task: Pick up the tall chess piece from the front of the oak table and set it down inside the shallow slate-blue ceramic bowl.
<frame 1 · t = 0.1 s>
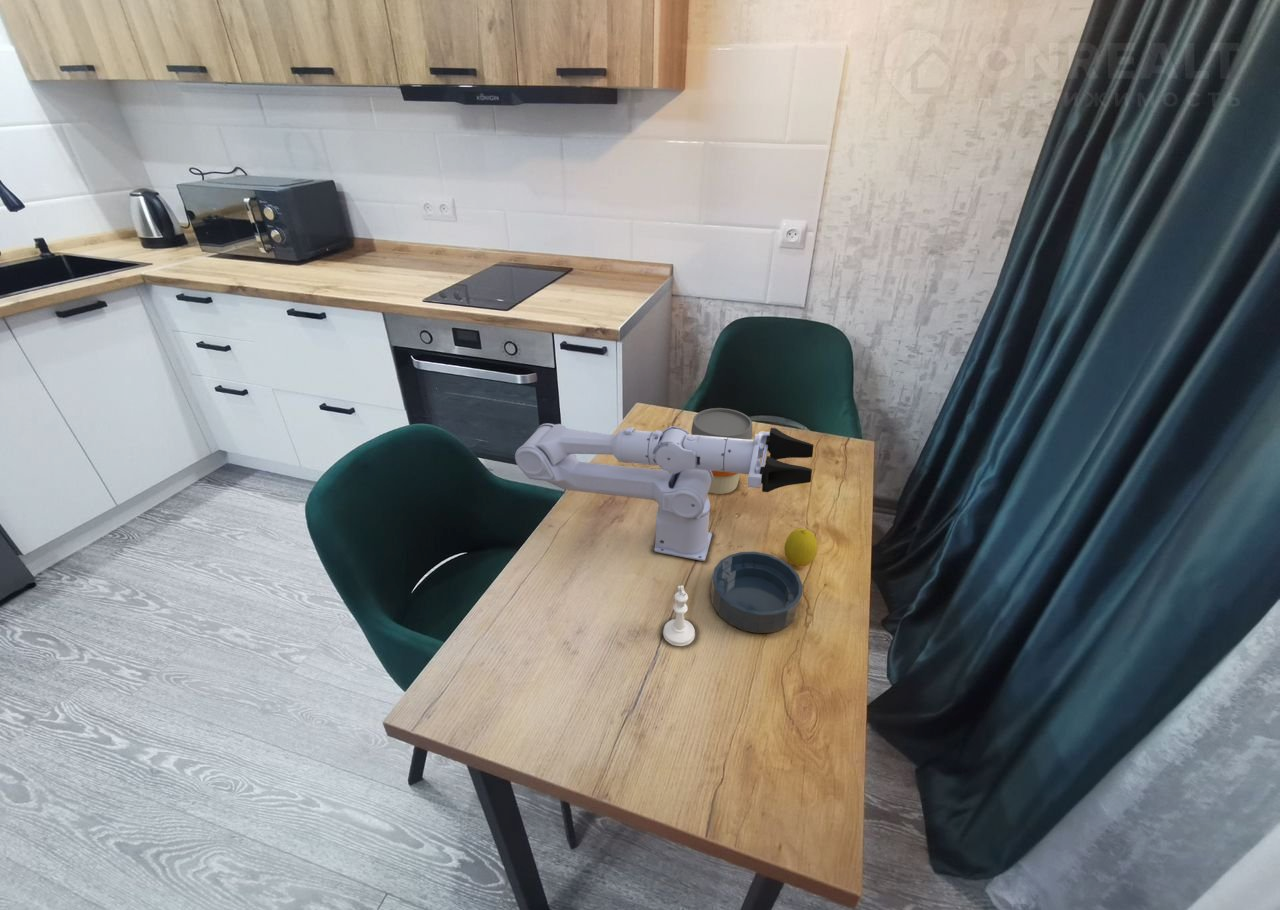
hand: (812, 462, 89), 22 cm above the table, tool horizontal, fingers open, 7 cm apart
lemon: (797, 565, 101), on the table
bowl: (754, 601, 93), on the table
chess piece: (678, 634, 87), on the table
reusable coffee cup: (716, 482, 123), on the table
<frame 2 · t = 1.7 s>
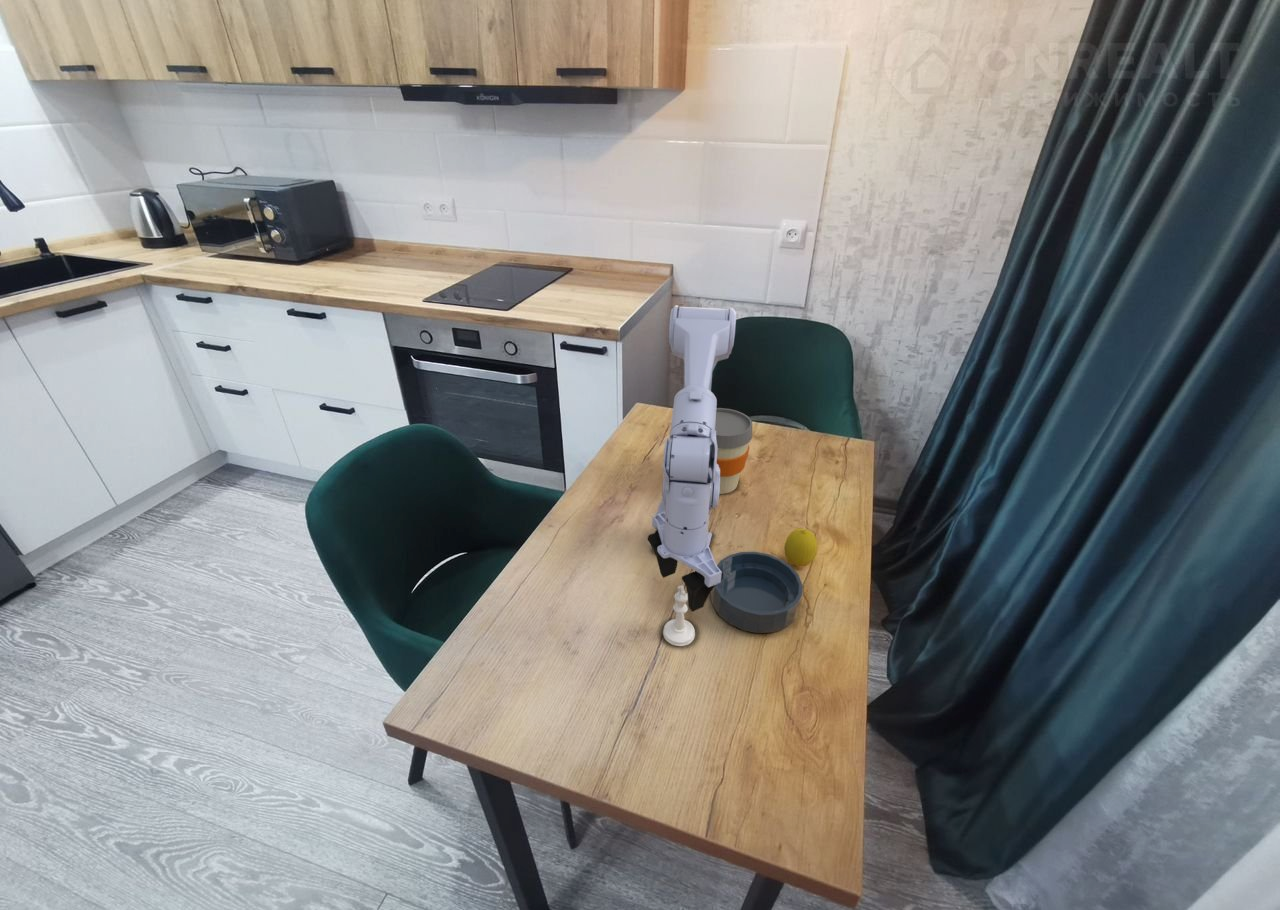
hand: (681, 590, 82), 9 cm above the table, tool pointing down, fingers open, 7 cm apart
nothing on the table moved.
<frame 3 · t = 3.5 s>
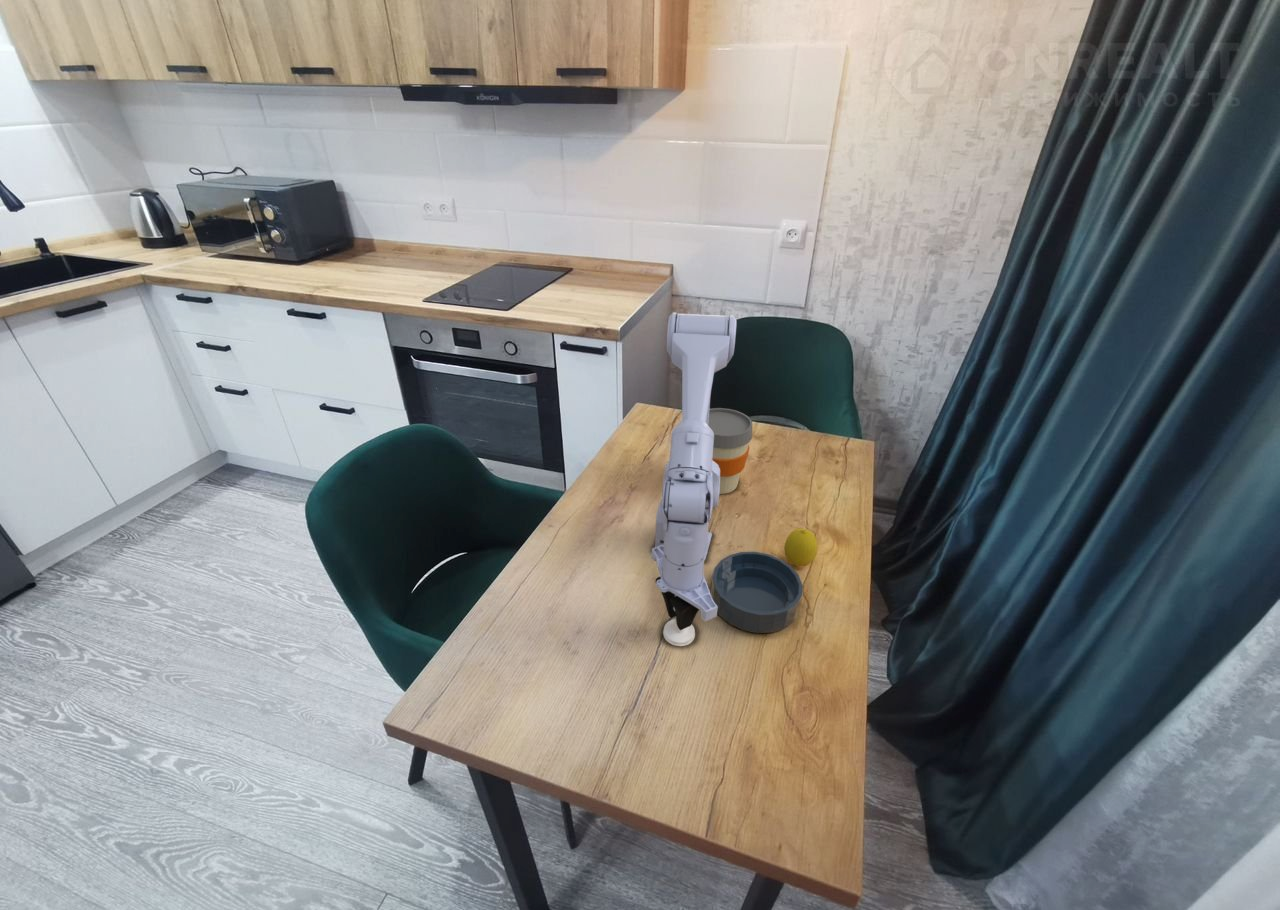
hand: (679, 620, 86), 3 cm above the table, tool pointing down, fingers closed on chess piece
chess piece: (679, 634, 87), on the table, touching gripper
everything else where it was.
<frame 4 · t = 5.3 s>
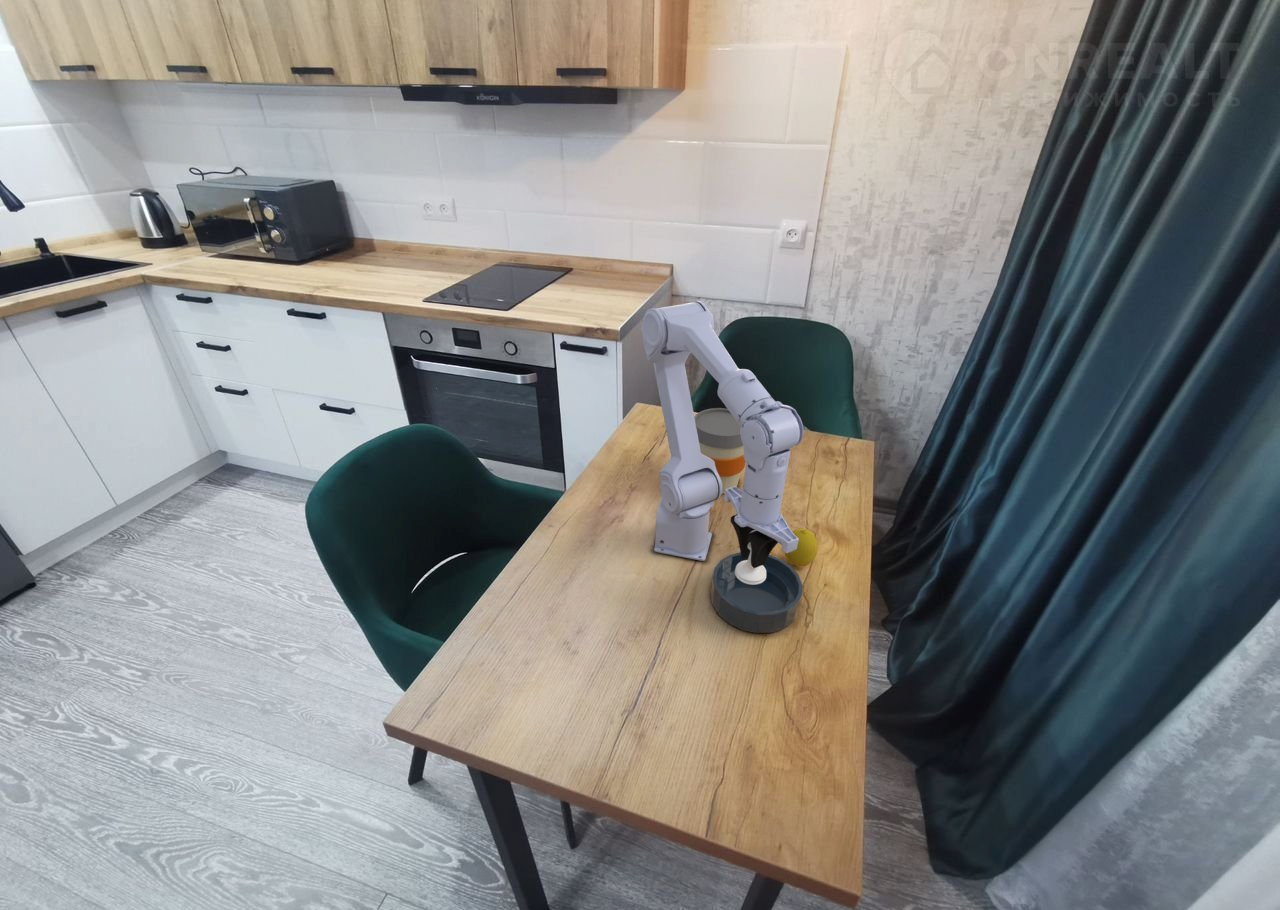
hand: (752, 559, 87), 10 cm above the table, tool pointing down, fingers closed on chess piece
chess piece: (750, 574, 89), point 7 cm above the table, touching gripper
everything else where it was.
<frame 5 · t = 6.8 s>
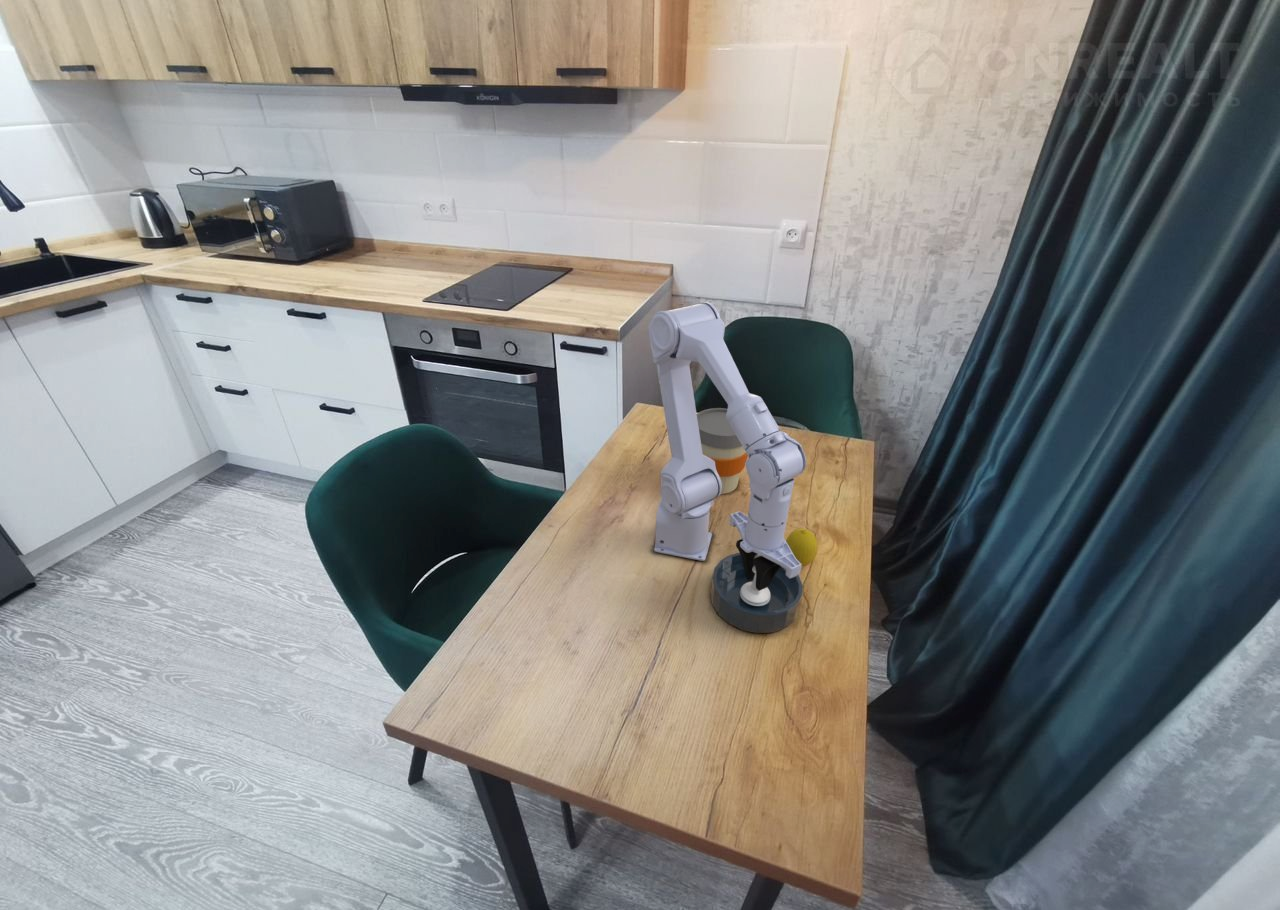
hand: (757, 582, 91), 4 cm above the table, tool pointing down, fingers closed on chess piece
chess piece: (754, 595, 92), point 1 cm above the table, touching gripper
everything else where it was.
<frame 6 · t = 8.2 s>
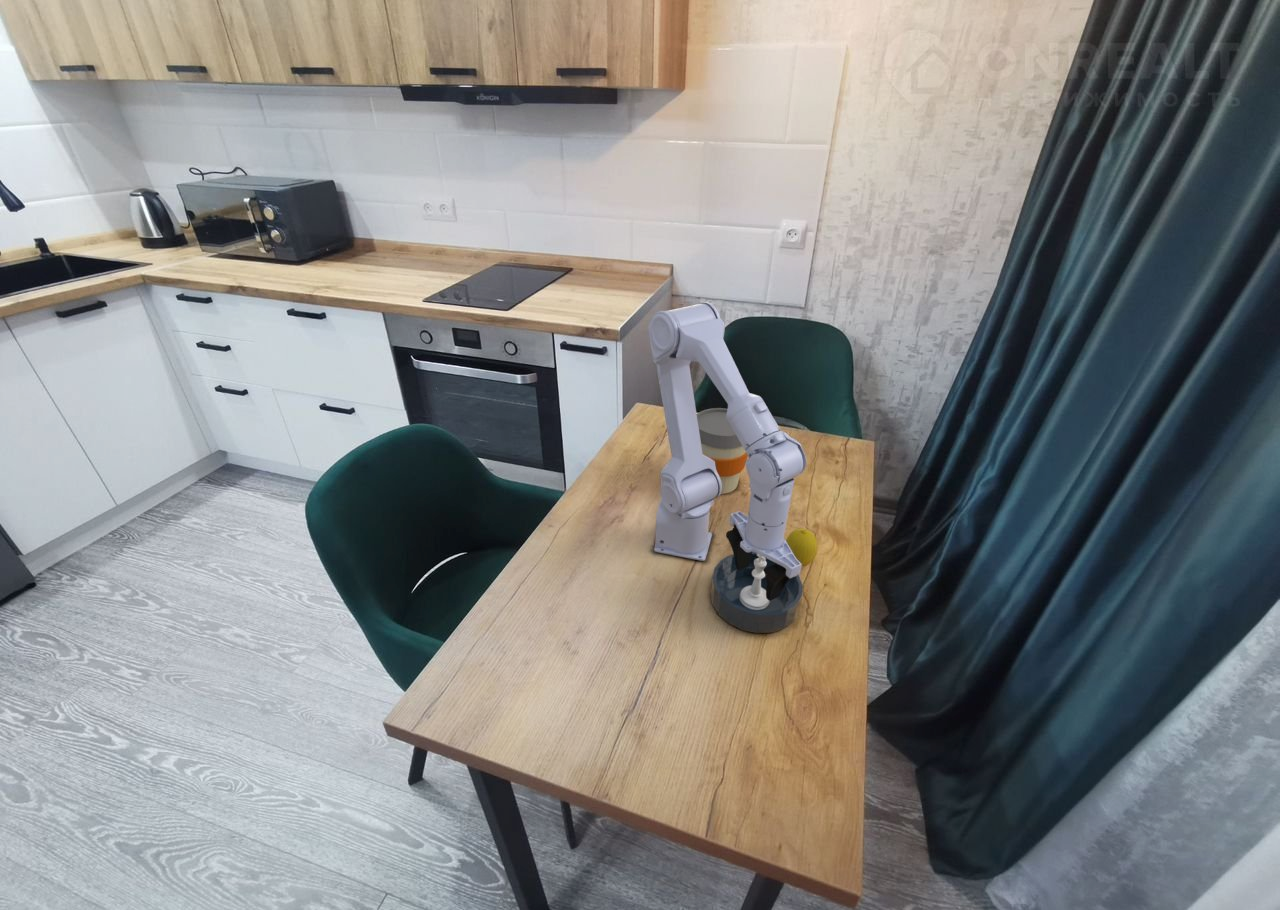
hand: (757, 581, 91), 4 cm above the table, tool pointing down, fingers open, 7 cm apart
chess piece: (754, 599, 93), resting on bowl
everything else where it was.
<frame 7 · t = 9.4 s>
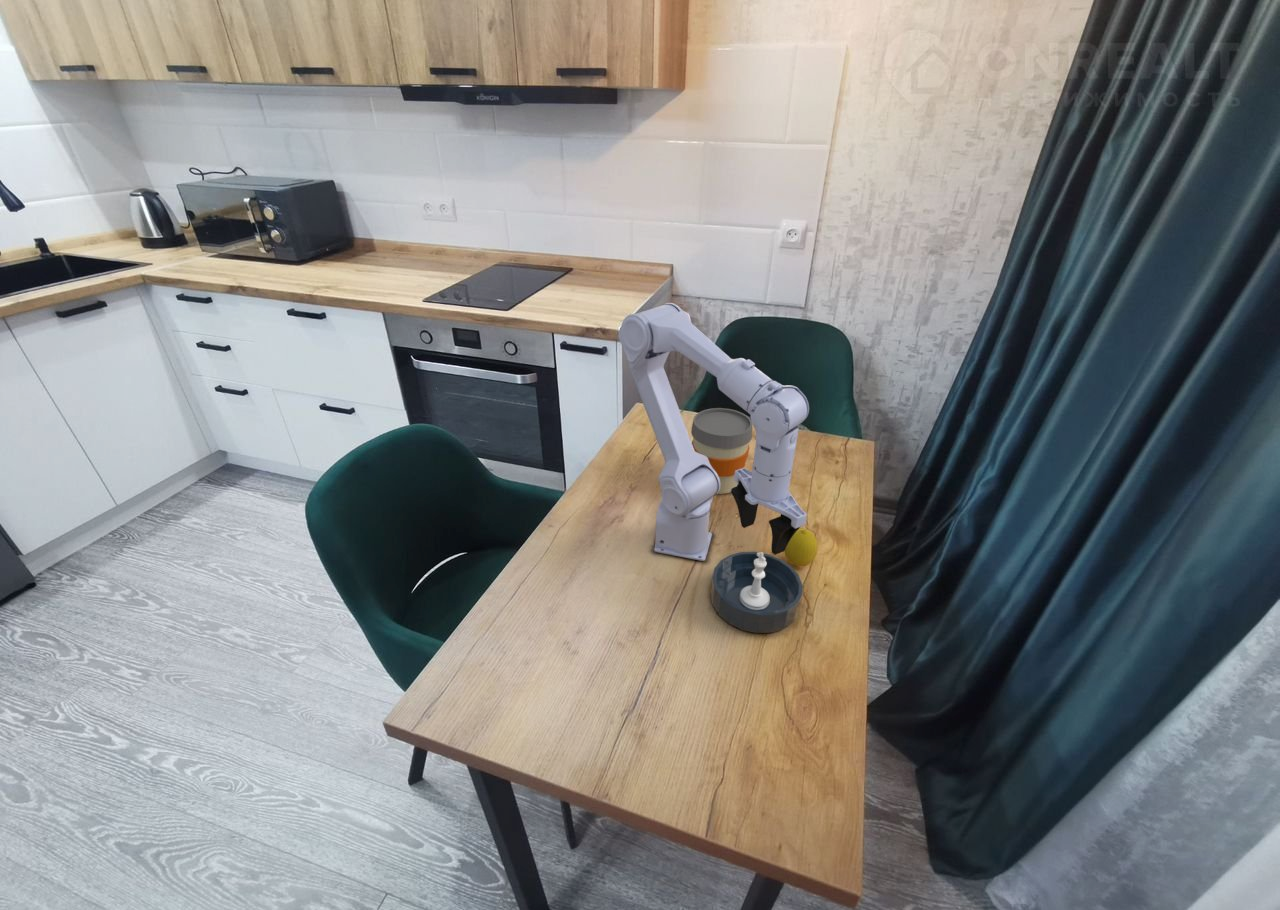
hand: (762, 538, 91), 10 cm above the table, tool pointing down, fingers open, 7 cm apart
nothing on the table moved.
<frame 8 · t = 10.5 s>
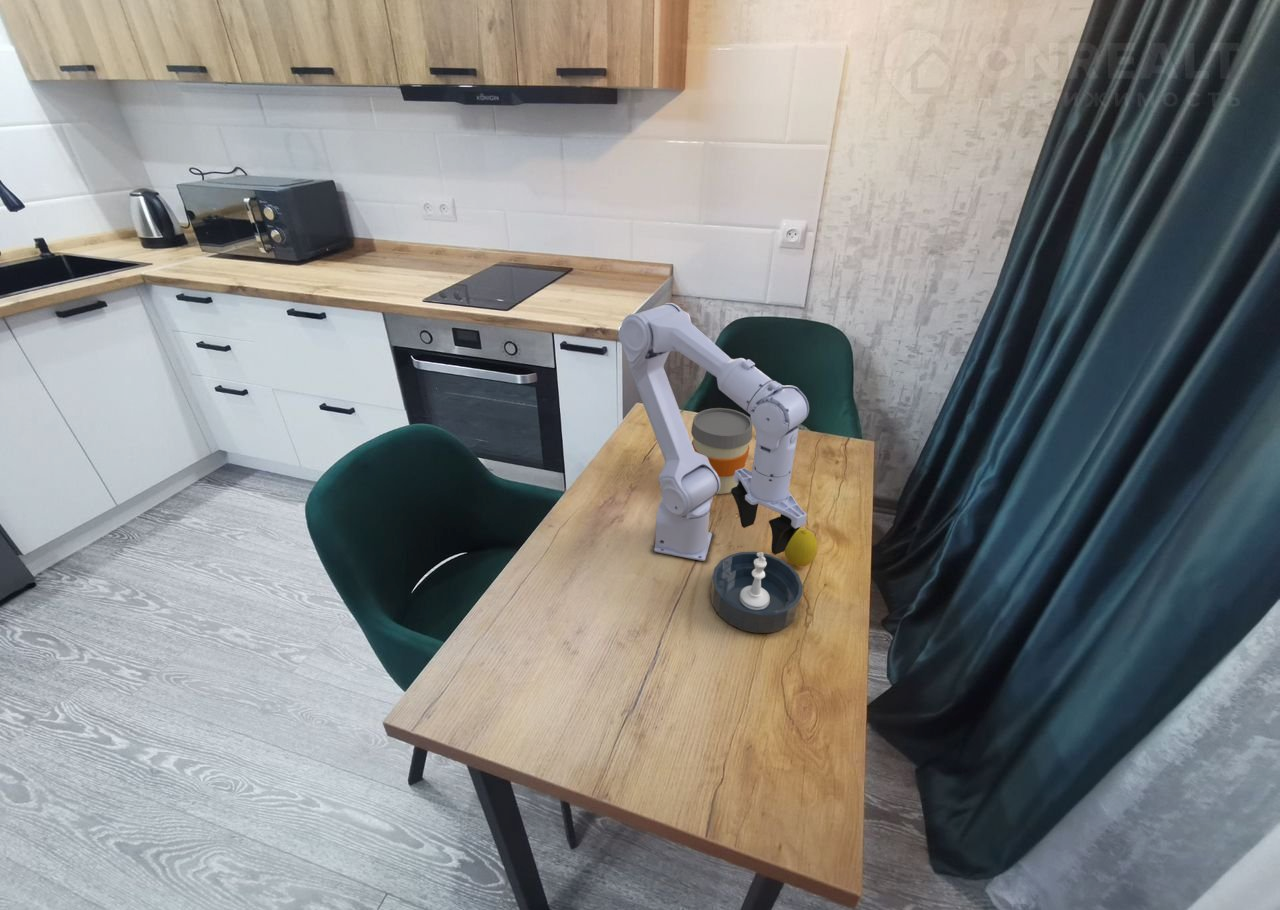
hand: (762, 538, 91), 10 cm above the table, tool pointing down, fingers open, 7 cm apart
nothing on the table moved.
at the end: chess piece inside the target area in the bowl (0.0 cm from its centre), point 0.4 cm above the bowl's base; the gripper is holding nothing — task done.
